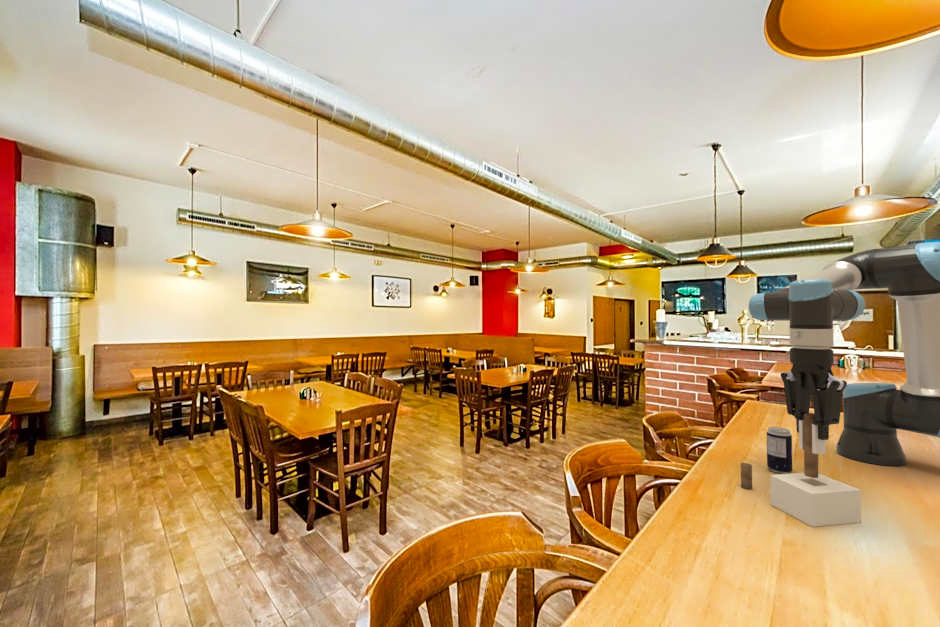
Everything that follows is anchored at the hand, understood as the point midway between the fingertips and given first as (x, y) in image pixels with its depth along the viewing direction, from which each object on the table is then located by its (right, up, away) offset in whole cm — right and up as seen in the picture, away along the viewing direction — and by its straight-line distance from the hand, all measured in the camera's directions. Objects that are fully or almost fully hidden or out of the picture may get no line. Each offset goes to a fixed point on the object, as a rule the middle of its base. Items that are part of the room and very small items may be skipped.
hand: (812, 450), depth 89 cm
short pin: (-6, -14, +13) cm, 20 cm away
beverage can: (+11, -14, +24) cm, 30 cm away
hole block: (0, -14, 0) cm, 14 cm away
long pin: (0, -6, 0) cm, 6 cm away
